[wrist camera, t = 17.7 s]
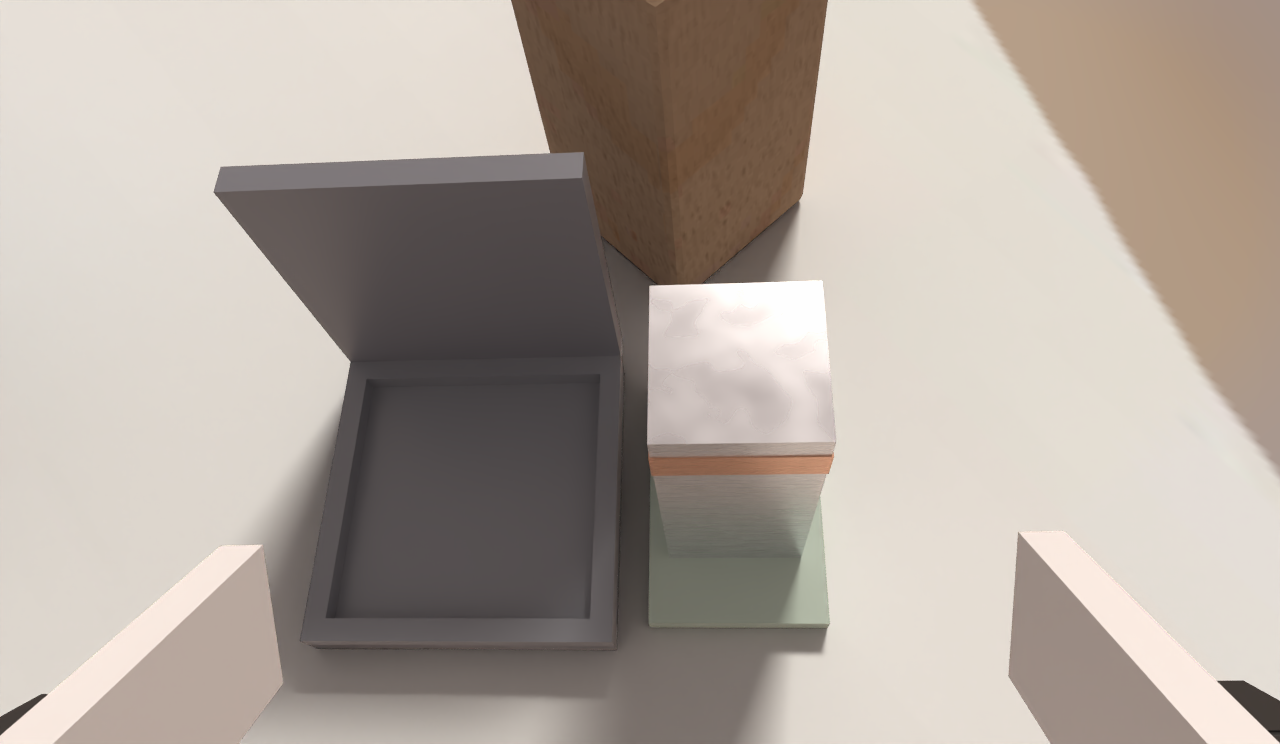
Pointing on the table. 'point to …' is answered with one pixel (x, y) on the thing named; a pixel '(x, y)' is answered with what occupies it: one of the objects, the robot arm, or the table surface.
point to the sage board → (736, 585)
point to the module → (739, 416)
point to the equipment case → (457, 396)
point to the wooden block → (679, 117)
